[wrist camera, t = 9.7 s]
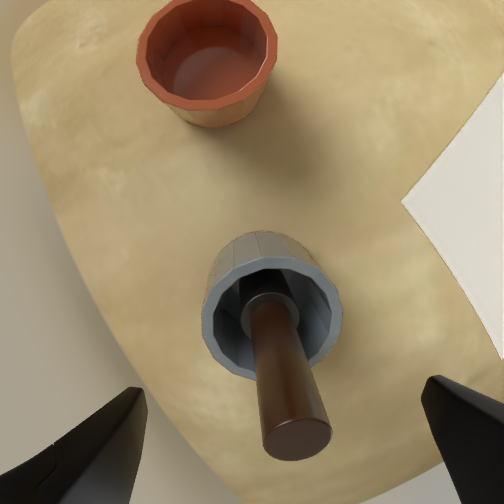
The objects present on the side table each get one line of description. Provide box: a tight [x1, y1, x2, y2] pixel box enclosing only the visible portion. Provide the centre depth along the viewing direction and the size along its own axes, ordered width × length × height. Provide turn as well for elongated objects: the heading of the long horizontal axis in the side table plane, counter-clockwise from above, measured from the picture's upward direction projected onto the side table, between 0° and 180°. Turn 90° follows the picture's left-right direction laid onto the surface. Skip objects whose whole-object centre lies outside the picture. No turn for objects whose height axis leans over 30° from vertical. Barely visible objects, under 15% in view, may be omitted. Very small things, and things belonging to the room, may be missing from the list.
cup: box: [201, 231, 343, 381], centre depth 16 cm, size 6×6×5 cm
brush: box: [239, 269, 333, 461], centre depth 12 cm, size 3×3×11 cm
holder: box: [136, 0, 277, 128], centre depth 12 cm, size 5×5×6 cm
